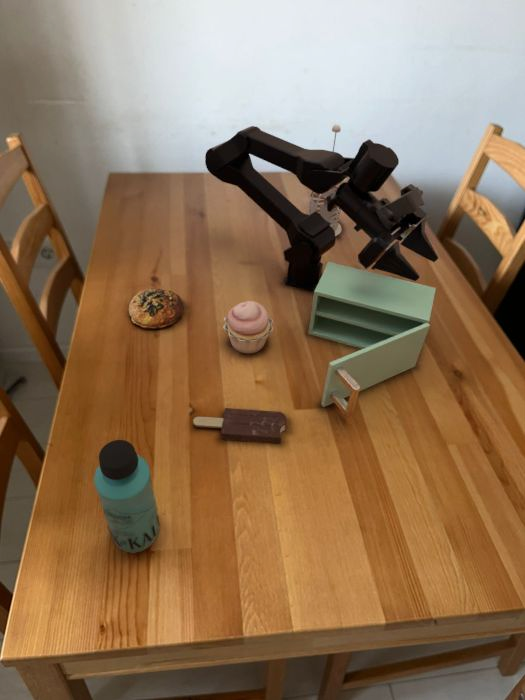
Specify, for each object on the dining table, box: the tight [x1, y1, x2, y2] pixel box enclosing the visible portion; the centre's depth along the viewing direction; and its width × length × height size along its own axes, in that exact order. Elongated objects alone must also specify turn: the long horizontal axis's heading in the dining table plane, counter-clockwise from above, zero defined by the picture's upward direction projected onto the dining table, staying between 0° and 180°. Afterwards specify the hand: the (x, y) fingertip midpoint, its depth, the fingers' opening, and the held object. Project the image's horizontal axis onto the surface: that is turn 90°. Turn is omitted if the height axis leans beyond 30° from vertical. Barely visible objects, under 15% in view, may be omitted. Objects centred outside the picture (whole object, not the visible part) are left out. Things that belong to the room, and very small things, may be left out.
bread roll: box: [128, 287, 185, 330], centre depth 101 cm, size 11×11×5 cm
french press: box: [307, 124, 348, 237], centre depth 119 cm, size 10×12×25 cm
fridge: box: [307, 261, 437, 350], centre depth 97 cm, size 10×21×11 cm, turn 70°
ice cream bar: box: [192, 407, 287, 444], centre depth 83 cm, size 5×2×15 cm
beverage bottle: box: [93, 439, 161, 553], centre depth 62 cm, size 6×7×20 cm
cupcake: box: [222, 300, 275, 355], centre depth 94 cm, size 9×9×10 cm
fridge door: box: [320, 323, 431, 419], centre depth 86 cm, size 6×21×10 cm, turn 120°
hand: (427, 269), depth 91 cm, fingers open, 9 cm apart
